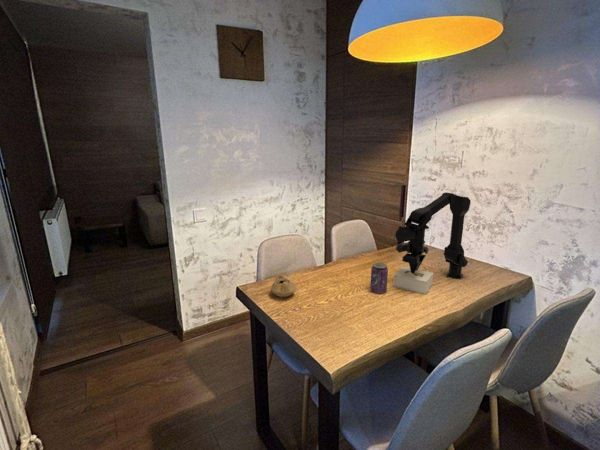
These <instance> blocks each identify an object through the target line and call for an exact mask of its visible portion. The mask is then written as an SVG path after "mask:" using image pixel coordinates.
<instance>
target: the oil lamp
mask: <svg viewBox="0 0 600 450" xmlns="http://www.w3.org/2000/svg"><path fill="white" fill-rule="evenodd" d="M270 291H271V292H272V293H273V294H274V295H275V296H277V297H280V298H288V297H289V296H291V295H292V294H294V293H295V292H296V291H297V286H296V284H295V282H292V281H291V280H290V279H288V278H286V277H284V276H283V275H277V276H276V277H275V280H274V282H273V283H272V285H271V286H270Z"/></svg>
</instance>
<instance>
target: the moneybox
mask: <svg viewBox="0 0 600 450" xmlns="http://www.w3.org/2000/svg"><path fill="white" fill-rule="evenodd" d="M408 272H410V273H411V269H410V267H408V266H402V267H401V268H400V269H399V270H397V271H396V272H395V273H394V274H393V287H394V288H398V289H402V290H406V291H408V292H414V293H416V294H417V293H418V294H421V295H426V294H427V293H428V292H429V290H430V289H431V288H432V286H433V281H434V272H432V271H426V270H421V269H418V270H417V271H415V273H414V274H419V275H421V277H419V276H415V275H410V274H407V273H408Z"/></svg>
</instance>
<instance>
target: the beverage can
mask: <svg viewBox="0 0 600 450" xmlns="http://www.w3.org/2000/svg"><path fill="white" fill-rule="evenodd" d="M370 270H371V271H370V283H369V284H370V285H369V288H370V290H371V291H372V292H373V293H376V294H382V293H385V292H387V290H388V289H387V288H388V275H389V274H388V273H389V269H388V265H387V264H386V263H383V262H374V263H372V267H371V268H370Z"/></svg>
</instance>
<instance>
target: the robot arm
mask: <svg viewBox="0 0 600 450" xmlns="http://www.w3.org/2000/svg"><path fill="white" fill-rule="evenodd" d="M471 204H472V203H471V199H470V198H469V197H468V196H463V195H462V196H461V195H456V194H455V193H452V192H446V191H445V192H442V194H441V195H440V196H439V197H437V198H436V199H435V200H433V201H432V202H430V203H429V204H427V205H426V206H422V207H419V208H417V209H414V210H412V211H411V212H410V214H409V216H408V217H407V220H406V221H405V222H404V224H403V225H400V226H399V228H398V229H397V230H396V232H395V238H396V240H397V242H399V244H397V245H396V248H395V250H396V251H397V253H398V254H399V253H402V252H403V253H404V252H407V253H405V254H404V255H403V256H402V262H404V263H408V265H409V268H410V269H411V273H412V274H414V273H415V271H417V270H419V269H420V266H421V265H422V263H423V261H424V260H425V259H426V258H425V257H426V256H427V254H429V248H428V247H427V246H425V244H426V240H425V235H426V230H429V228H430V227H429V225H428V223H429V222H430V221H432V220H433V219H432V218H433V216H434V215H436V214H437V213H438V212H440V211H441V210H442V209H444V208H445V207H447V206H448V205H449V210H450V212H451V214H452V218H451V219H452V220H451V227H450V237H449V244H448V245H447V246H445V247H444V250H443V251H444V253H443V255H444V260H445V262H446V263H448V264H449V265H448V272H447V273H446V274H445V275H446V277H450V278H455V279H460V280H461V279H462V277H463V276H464V274H463V273H462V272H463V268H465V267H466V266H467V265H468V263H469V261H468V259H467V258H466V257H465V250H464V247H463V244H462V241H463V240H462V239H463V231H464V222H465V215H466V214H467V213H468V212H469V211H470V208H471Z"/></svg>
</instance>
